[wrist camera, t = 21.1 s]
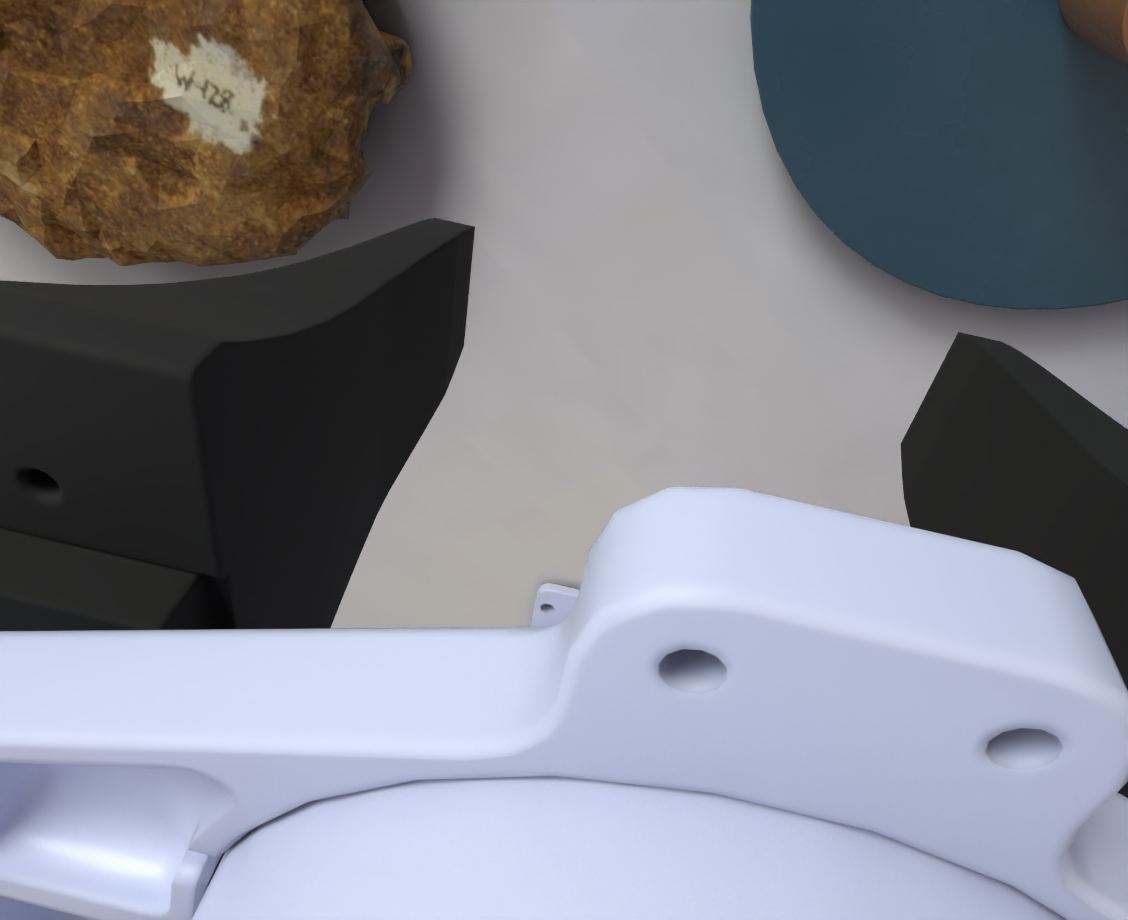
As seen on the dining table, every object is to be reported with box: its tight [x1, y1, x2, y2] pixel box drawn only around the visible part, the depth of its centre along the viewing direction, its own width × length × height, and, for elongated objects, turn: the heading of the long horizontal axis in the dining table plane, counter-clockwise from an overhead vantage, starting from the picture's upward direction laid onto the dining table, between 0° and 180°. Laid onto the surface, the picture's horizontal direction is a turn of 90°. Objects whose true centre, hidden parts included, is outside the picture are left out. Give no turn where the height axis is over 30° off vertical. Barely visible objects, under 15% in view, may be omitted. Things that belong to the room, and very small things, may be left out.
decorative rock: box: [0, 0, 413, 266], centre depth 19 cm, size 11×4×15 cm
